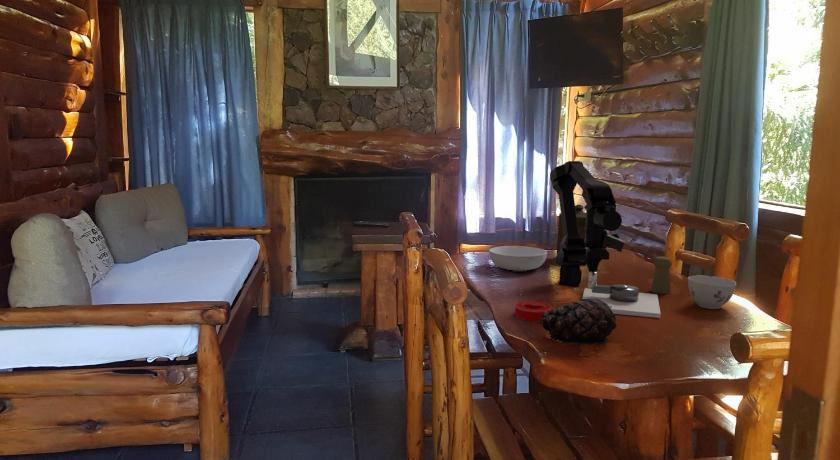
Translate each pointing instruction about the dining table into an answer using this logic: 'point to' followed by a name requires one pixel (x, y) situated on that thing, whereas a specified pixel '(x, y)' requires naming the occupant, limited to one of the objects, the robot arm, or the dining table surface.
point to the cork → (662, 276)
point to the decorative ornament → (531, 310)
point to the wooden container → (580, 221)
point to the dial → (613, 289)
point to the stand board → (629, 304)
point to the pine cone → (580, 322)
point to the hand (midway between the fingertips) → (592, 277)
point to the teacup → (711, 290)
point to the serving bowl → (517, 257)
